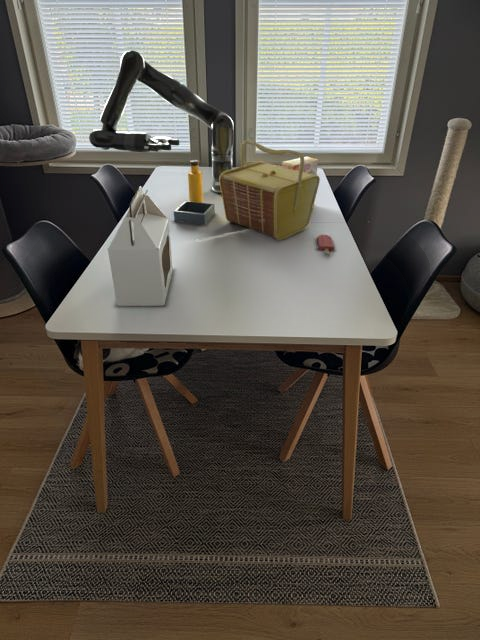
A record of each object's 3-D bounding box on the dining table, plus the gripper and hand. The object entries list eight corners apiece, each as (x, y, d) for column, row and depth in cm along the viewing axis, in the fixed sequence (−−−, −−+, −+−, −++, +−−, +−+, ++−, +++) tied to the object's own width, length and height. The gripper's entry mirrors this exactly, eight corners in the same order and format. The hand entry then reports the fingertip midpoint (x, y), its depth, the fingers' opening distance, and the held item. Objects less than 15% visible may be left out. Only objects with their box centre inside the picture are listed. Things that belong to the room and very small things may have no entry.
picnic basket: (317, 227, 175) (326, 146, 158) (275, 247, 159) (280, 160, 143) (260, 208, 191) (263, 134, 175) (217, 225, 176) (215, 144, 159)
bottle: (199, 204, 194) (197, 158, 184) (205, 209, 190) (204, 161, 179) (187, 207, 192) (184, 160, 181) (193, 211, 188) (191, 163, 177)
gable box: (164, 306, 126) (154, 210, 110) (116, 306, 125) (100, 209, 110) (172, 269, 144) (165, 182, 128) (131, 269, 144) (119, 182, 128)
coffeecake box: (290, 213, 187) (294, 165, 177) (278, 208, 192) (281, 161, 181) (314, 205, 196) (319, 159, 185) (301, 201, 200) (306, 155, 189)
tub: (185, 211, 188) (185, 200, 185) (214, 214, 185) (214, 203, 182) (174, 222, 178) (173, 211, 175) (204, 225, 175) (204, 214, 172)
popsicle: (320, 251, 153) (316, 234, 166) (319, 255, 154) (316, 238, 166) (335, 252, 153) (331, 234, 165) (335, 256, 154) (330, 238, 166)
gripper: (128, 136, 175) (167, 138, 171) (144, 129, 186) (181, 131, 183) (131, 156, 179) (169, 159, 175) (146, 147, 190) (182, 150, 187)
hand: (175, 144), depth 179 cm, fingers open, 8 cm apart
